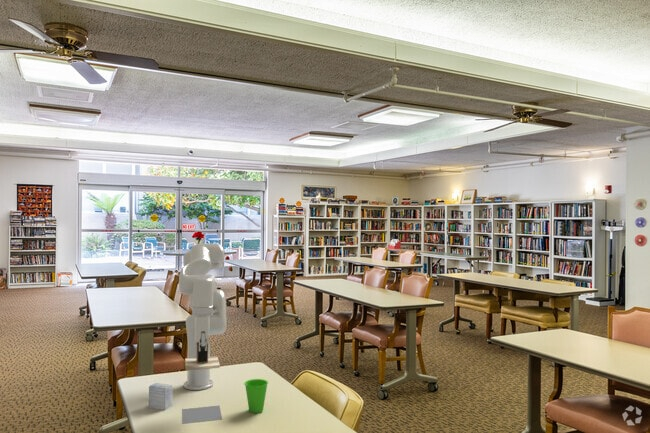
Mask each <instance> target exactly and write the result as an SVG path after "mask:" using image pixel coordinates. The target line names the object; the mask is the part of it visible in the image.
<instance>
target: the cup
mask: <svg viewBox="0 0 650 433" xmlns="http://www.w3.org/2000/svg"><path fill="white" fill-rule="evenodd" d="M268 384H269V381H268V380H266V379H264V378H263V379H262V378H252V379H248V380H245V382H244V383H243V385H244V386H245V391H246V392H245V393H246V401H247V407H248V411H249V413H252V414H262V413H263V411H264V406H265V400H266V395H267V388H268Z"/></svg>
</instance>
